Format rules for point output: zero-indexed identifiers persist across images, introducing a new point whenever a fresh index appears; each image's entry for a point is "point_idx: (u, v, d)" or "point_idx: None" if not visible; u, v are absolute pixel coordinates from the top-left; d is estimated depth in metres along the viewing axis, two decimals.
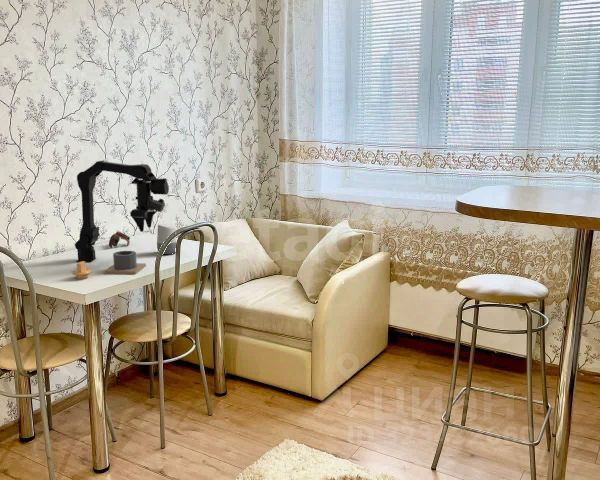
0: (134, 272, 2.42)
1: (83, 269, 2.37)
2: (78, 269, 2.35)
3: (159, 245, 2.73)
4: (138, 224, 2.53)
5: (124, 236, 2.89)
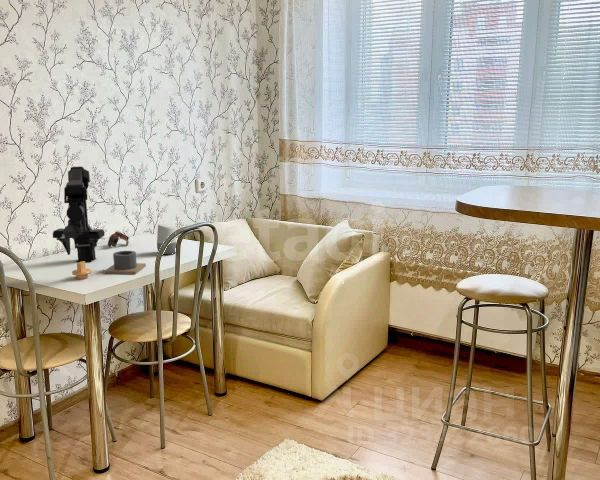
0: (134, 272, 2.42)
1: (83, 269, 2.37)
2: (78, 269, 2.35)
3: (159, 245, 2.73)
4: None
5: (123, 236, 2.89)
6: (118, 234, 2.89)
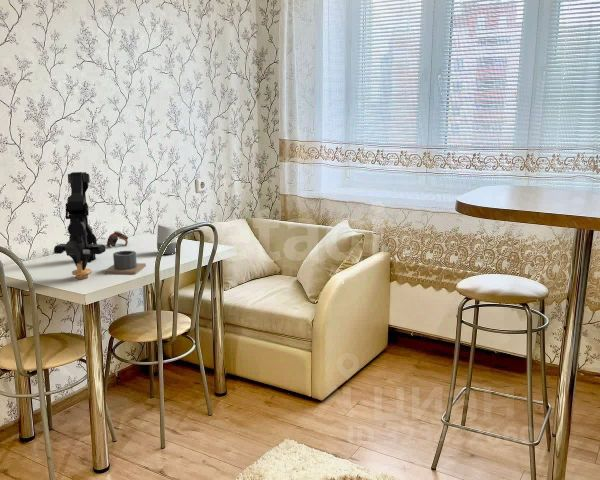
0: (134, 272, 2.42)
1: None
2: (78, 269, 2.35)
3: (159, 245, 2.73)
4: None
5: (122, 236, 2.90)
6: (117, 234, 2.89)
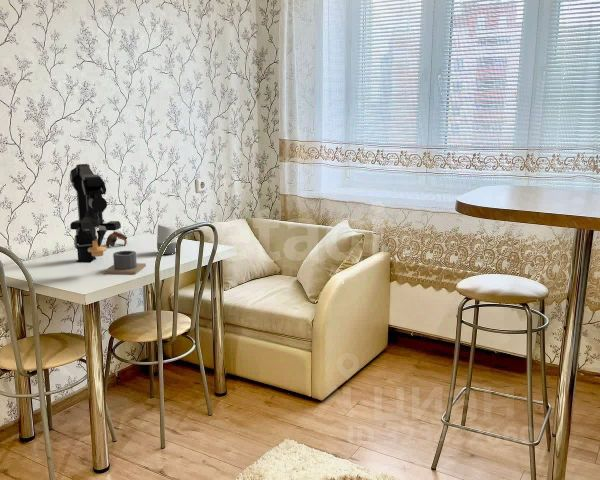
0: (134, 272, 2.42)
1: (98, 246, 2.39)
2: (94, 246, 2.37)
3: (159, 245, 2.73)
4: None
5: (121, 236, 2.90)
6: (116, 234, 2.90)
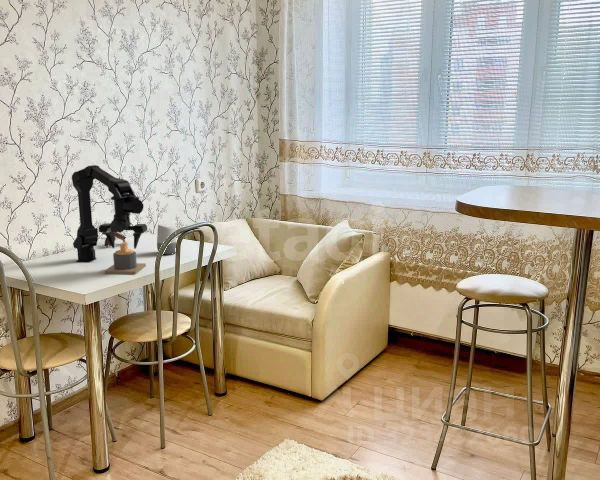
0: (134, 272, 2.42)
1: (126, 249, 2.47)
2: (121, 249, 2.45)
3: (159, 245, 2.73)
4: None
5: (120, 235, 2.90)
6: (115, 234, 2.90)
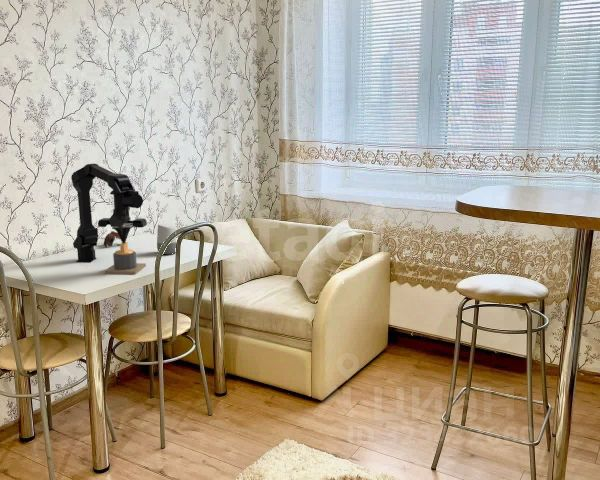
0: (134, 272, 2.42)
1: (126, 249, 2.47)
2: (121, 249, 2.45)
3: (159, 245, 2.73)
4: None
5: None
6: (114, 234, 2.90)
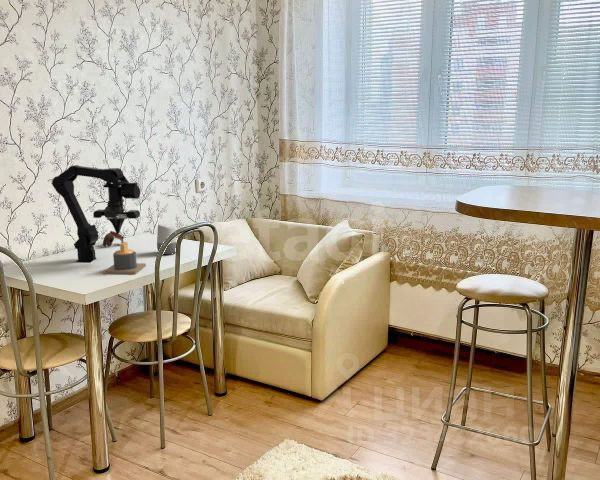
0: (134, 272, 2.42)
1: (126, 249, 2.47)
2: (121, 249, 2.45)
3: (159, 245, 2.73)
4: None
5: (118, 235, 2.91)
6: (113, 233, 2.90)
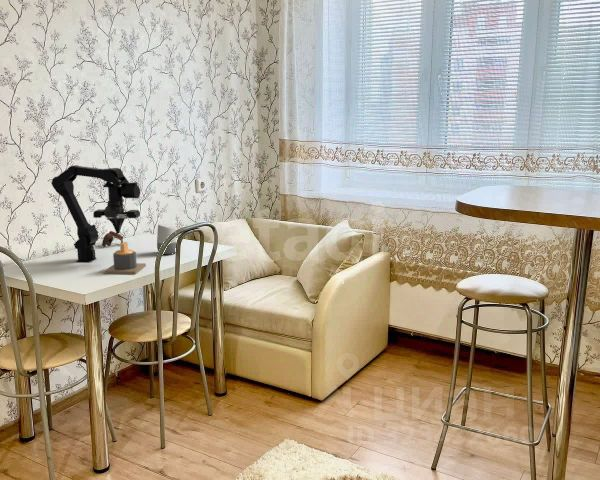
0: (134, 272, 2.42)
1: (126, 249, 2.47)
2: (121, 249, 2.45)
3: (159, 245, 2.73)
4: None
5: (118, 235, 2.91)
6: (113, 233, 2.91)
